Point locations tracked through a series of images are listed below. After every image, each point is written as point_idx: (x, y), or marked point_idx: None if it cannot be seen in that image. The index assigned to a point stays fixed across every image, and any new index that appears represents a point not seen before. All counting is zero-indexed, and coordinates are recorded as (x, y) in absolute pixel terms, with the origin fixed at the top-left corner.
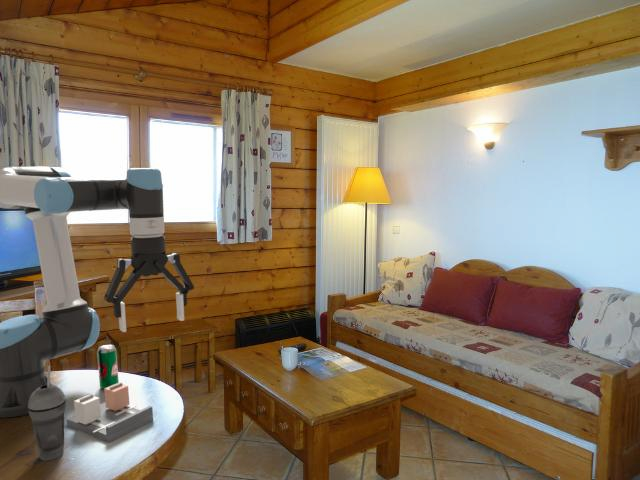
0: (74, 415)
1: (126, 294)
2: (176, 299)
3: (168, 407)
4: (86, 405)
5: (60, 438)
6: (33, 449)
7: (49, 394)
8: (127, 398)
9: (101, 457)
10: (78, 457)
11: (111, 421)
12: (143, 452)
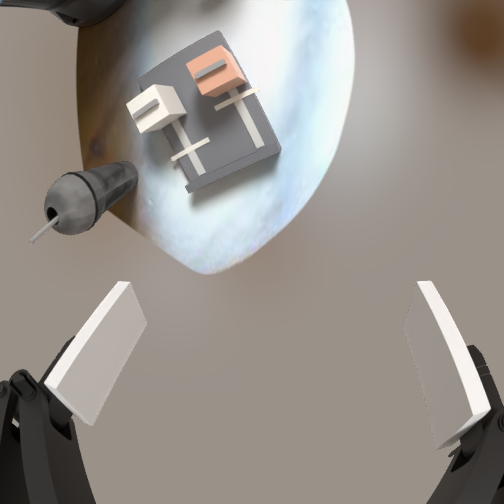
0: (149, 71)
1: (83, 466)
2: (456, 376)
3: (325, 110)
4: (147, 130)
5: (122, 196)
6: (104, 144)
7: (66, 233)
8: (240, 81)
9: (184, 223)
10: (156, 204)
11: (204, 132)
12: (239, 247)
